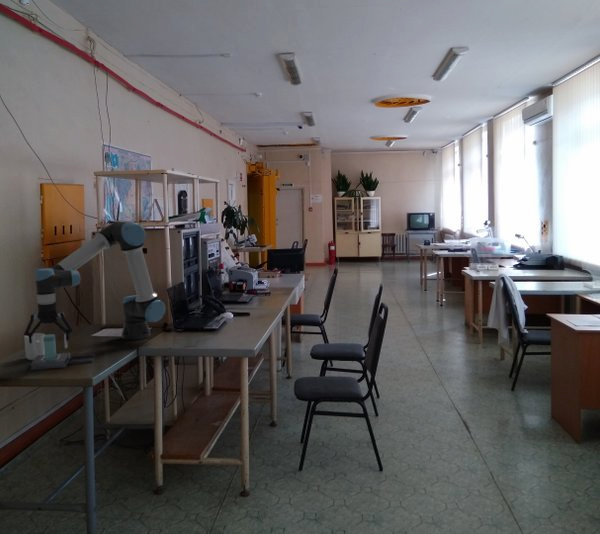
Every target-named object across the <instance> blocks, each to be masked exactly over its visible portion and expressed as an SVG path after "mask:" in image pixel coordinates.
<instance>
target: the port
mask: <svg viewBox="0 0 600 534" xmlns="http://www.w3.org/2000/svg"><path fill="white" fill-rule="evenodd" d="M56 355H57V358H56V359H46V360H45V355H38V356H37V357H36V358H35V359H34V360H31V362H30V370H31V371H35V370H36V371H37V370H50V369H59V368H60V369H61V368H66V367H67V365H68V364H69V361H71V352H59V353H56Z"/></svg>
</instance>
